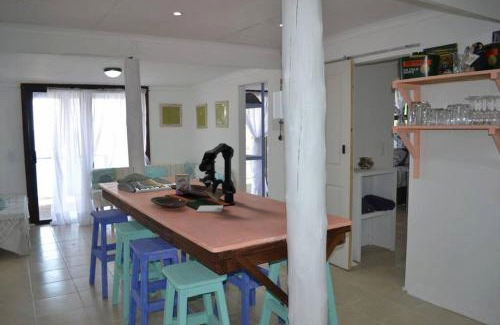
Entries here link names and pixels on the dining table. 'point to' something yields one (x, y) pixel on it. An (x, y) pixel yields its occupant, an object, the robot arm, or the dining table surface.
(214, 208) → the grey mat
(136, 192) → the holder
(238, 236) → the dining table surface
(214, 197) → the walnut block
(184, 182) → the candy bar box
